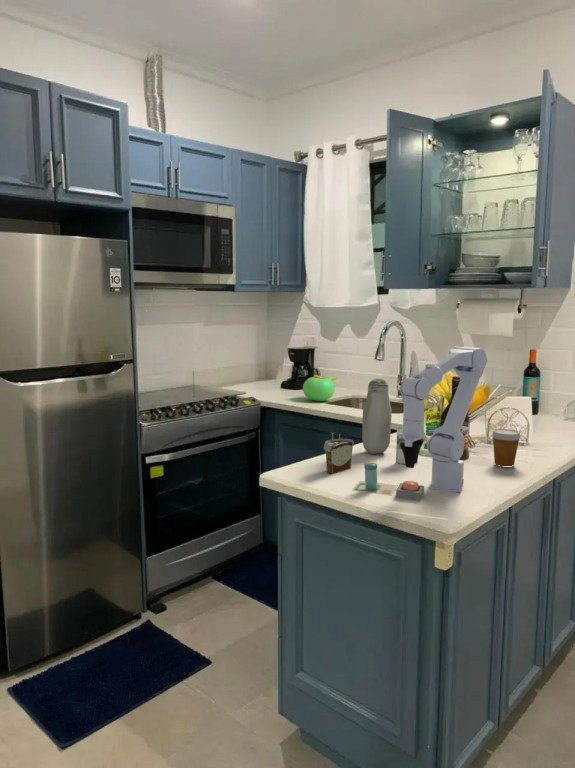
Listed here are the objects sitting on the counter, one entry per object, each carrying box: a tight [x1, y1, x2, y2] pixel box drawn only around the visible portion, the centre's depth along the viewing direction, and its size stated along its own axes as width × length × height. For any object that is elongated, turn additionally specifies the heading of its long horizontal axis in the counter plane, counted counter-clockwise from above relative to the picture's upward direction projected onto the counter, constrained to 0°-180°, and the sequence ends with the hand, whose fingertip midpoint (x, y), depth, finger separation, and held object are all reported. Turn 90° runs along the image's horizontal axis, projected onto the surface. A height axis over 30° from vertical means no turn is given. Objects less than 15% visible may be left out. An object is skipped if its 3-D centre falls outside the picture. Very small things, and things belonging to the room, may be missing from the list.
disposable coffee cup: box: [491, 428, 522, 466], centre depth 207 cm, size 10×10×12 cm
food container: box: [323, 438, 355, 475], centre depth 199 cm, size 12×6×10 cm, turn 134°
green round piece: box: [302, 374, 339, 402], centre depth 330 cm, size 18×17×15 cm
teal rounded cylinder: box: [364, 462, 378, 490], centre depth 179 cm, size 4×4×8 cm
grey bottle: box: [361, 378, 393, 455], centre depth 220 cm, size 10×10×28 cm
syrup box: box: [395, 420, 419, 466], centre depth 208 cm, size 6×6×14 cm
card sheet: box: [352, 480, 399, 496], centre depth 181 cm, size 12×10×1 cm
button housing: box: [395, 482, 425, 502], centre depth 174 cm, size 7×7×3 cm
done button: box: [402, 480, 419, 492], centre depth 174 cm, size 4×4×2 cm
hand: (411, 465), depth 173 cm, fingers open, 4 cm apart
